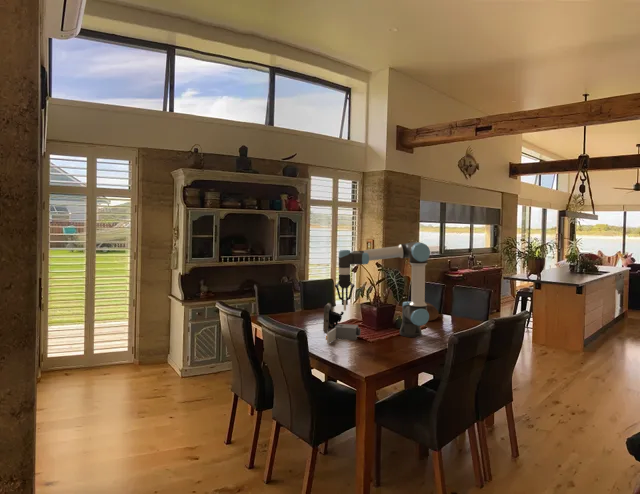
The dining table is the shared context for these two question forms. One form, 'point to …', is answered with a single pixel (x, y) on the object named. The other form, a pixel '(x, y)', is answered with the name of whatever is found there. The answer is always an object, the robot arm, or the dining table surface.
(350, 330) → the cabinet with round knob
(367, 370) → the dining table surface
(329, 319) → the vintage camera
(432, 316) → the bread
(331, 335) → the side door
